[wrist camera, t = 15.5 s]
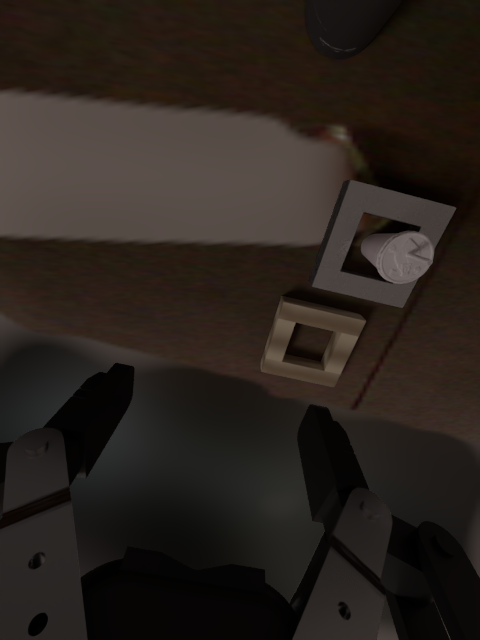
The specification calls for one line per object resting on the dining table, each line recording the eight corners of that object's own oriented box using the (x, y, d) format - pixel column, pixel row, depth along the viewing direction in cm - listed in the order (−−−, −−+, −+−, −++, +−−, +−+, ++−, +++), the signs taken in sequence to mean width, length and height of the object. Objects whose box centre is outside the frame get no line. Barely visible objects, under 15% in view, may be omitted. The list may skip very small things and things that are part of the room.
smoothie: (397, 221, 39) (468, 232, 26) (392, 264, 41) (454, 293, 29) (353, 227, 39) (401, 240, 27) (350, 268, 42) (393, 298, 29)
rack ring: (343, 181, 37) (350, 179, 34) (441, 207, 38) (456, 207, 35) (308, 280, 43) (312, 286, 40) (393, 301, 44) (402, 307, 41)
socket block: (281, 295, 44) (283, 301, 42) (359, 313, 45) (366, 321, 42) (260, 362, 50) (261, 371, 47) (329, 377, 51) (334, 387, 48)
